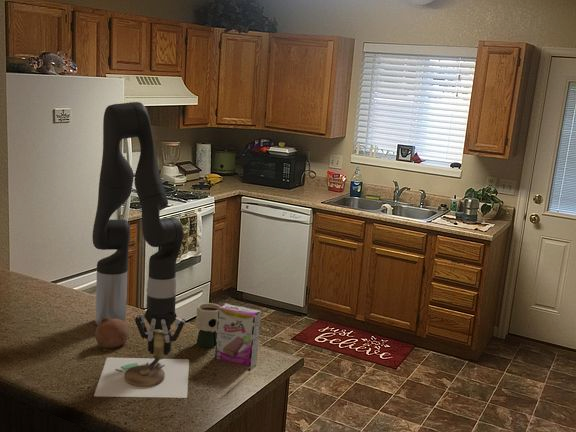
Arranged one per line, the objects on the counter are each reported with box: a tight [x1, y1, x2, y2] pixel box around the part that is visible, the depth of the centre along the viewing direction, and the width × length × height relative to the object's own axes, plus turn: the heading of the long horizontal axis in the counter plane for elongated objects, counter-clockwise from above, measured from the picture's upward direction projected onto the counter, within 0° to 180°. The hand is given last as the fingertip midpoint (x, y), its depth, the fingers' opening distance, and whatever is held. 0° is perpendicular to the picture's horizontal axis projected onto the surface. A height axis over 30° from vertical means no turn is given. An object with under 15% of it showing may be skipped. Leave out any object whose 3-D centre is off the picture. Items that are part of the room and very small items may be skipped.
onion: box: [94, 317, 130, 349], centre depth 183 cm, size 10×9×10 cm
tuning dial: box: [124, 329, 166, 387], centre depth 166 cm, size 17×10×8 cm, turn 170°
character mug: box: [194, 302, 222, 349], centre depth 188 cm, size 11×7×13 cm, turn 147°
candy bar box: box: [214, 303, 262, 371], centre depth 179 cm, size 11×5×16 cm, turn 71°
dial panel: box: [93, 357, 190, 399], centre depth 165 cm, size 22×22×2 cm
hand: (159, 353), depth 173 cm, fingers closed on tuning dial, 3 cm apart
